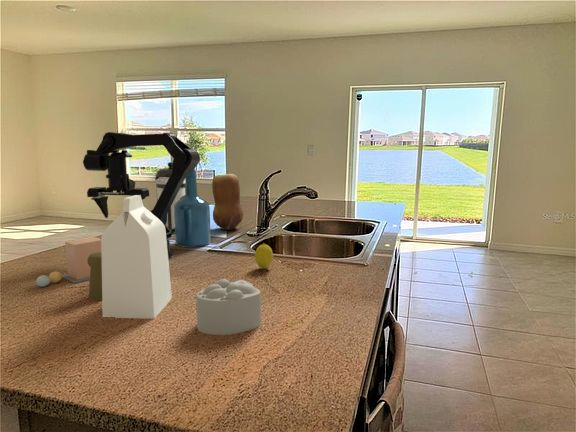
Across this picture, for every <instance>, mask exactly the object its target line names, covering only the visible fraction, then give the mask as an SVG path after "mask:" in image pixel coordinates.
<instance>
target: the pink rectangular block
mask: <svg viewBox="0 0 576 432" xmlns="http://www.w3.org/2000/svg"><path fill="white" fill-rule="evenodd" d="M64 245H65V246H64V247H65V254H66V264H67V274H68V276H70V277H72V278H74V279H76V280H79V279H83V278H88V277H90V268H91V267H90V266H89V265H88V262H87V260H88V257H89V255H91V254H93V253H98V252H101V238H99V237H96V236H89V237H85V238H78V239H73V240H66V241H64Z"/></svg>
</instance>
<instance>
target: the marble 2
mask: <svg viewBox="0 0 576 432" xmlns="http://www.w3.org/2000/svg"><path fill="white" fill-rule="evenodd" d="M61 275H62V274H61V273H60V272H59V271H52V272H51V273H49V275H48V278H49V280H50V281H49V282H51V283H55V284H56V283H59V282H60V281H61V280H62V277H61Z"/></svg>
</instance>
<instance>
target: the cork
mask: <svg viewBox="0 0 576 432" xmlns="http://www.w3.org/2000/svg"><path fill="white" fill-rule="evenodd" d="M87 262H88V265H89V266H90V267H91V268H90V280H89V283H88V284H89V288H88V299H89V300H92V301H102V255H101V252H98V253H93V254H91V255H89V257H88V260H87Z"/></svg>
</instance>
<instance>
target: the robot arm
mask: <svg viewBox="0 0 576 432" xmlns="http://www.w3.org/2000/svg"><path fill="white" fill-rule="evenodd" d="M149 146H150V147H151V146H152V147H155V146H163V147H164V148H165V150H166V151H167V153H168V154H169V156H171V157H172V159H173V160H172V162H171V163H172V173H171V175H170V177H169V179H168V181H167V183H166V185H165V187H164V189H163V191H162V193H161V195H160V197H159V199H158V201H157V200H156V203H155V205H154V206H153V209H151V210H149V211H150V212H151V213H152V214H153V215H155V216H156V217H157V218H158V219H159V220H160V221H161V222H162V223H163V224H164V226H165V229H166V240H167V250H168V259H169V258H172V257H173V254H171V244H170V239H171V238H172V234H173V230H172V231H171V230H170V229H169V228H168V227H167V226H166V222H167V213H168V211H169V209H170V207H171V205H172V203H173V201H174V199H175V197H176V195H177V193H178V191H179V190H180V188H181V186H182V184H183V182H184V180H185V178H186V177H187V176H188V175H189V174H190V173H191V172H192V171H193V170H194V169H195V168H196V167H197V166H198V165H199V163H200V161H201V157H200V153H199V152H198V151H197V150H196V149H194V148H191V147H190V146H189V145H188V144H187V143H185V142H184V141H182V140H181V139H180V138H178V137H177V135H175V134H174V133H173V132H163V133H149V134H148V133H147V134H130V133H125V132H116V131H115V132H110V131H106V132H105V133H104V134H103V137H102V140H101V142H100V143H99V145H98V147H97V148H96V149H87V150H86V154H85V155H84V157H83V160H82V163H83V164H82V165H83V167H84V168H85V170H87V171H89V172H90V171H93V172H96V171H97V172H99V171H100V172H106V171H107V174H105V178H106V179H107V180H108V181H107V182H108V187H106V186H94V187H90V188H88V189H87V191H86V196H87V198H90V199H91V200H92V201H94V202H95V204H96V205H97V206H98V208H99V209H100V211H101V213H102V215H103V216H104V218H105V219H108V218H109V208H108V207H109V205H108V199H109V196H129V197H130V196H134V195H141V199H142V201H143V200H145V199H146V198H147V197H150V190H149V189H148V188H147V187H136V181H134V180H133V179H131V178H130V175H129V173H127V159H126V158H132V157H133V155H132V154H131V153H130V152H128V150H129V149H132V148H134V147H149ZM119 151H120V152H119ZM195 170H196V169H195Z"/></svg>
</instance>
